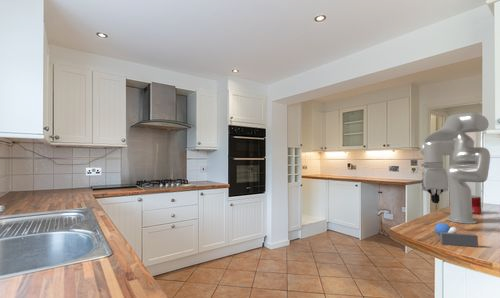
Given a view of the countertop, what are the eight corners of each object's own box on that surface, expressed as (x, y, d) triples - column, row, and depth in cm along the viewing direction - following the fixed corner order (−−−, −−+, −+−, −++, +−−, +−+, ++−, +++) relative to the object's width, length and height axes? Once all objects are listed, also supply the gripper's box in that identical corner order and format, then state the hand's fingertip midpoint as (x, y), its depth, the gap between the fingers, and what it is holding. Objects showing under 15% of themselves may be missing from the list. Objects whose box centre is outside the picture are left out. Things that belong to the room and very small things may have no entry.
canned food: (484, 214, 156) (483, 196, 156) (469, 214, 158) (468, 196, 158) (476, 212, 163) (475, 195, 164) (461, 211, 165) (461, 194, 165)
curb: (440, 242, 106) (439, 232, 106) (475, 245, 102) (474, 234, 103) (442, 244, 104) (441, 233, 104) (478, 247, 101) (477, 235, 101)
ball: (447, 240, 111) (443, 239, 116) (456, 229, 111) (452, 229, 116) (433, 230, 114) (430, 229, 119) (442, 220, 113) (439, 220, 119)
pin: (447, 232, 112) (451, 225, 106) (453, 236, 111) (458, 229, 105) (445, 237, 112) (448, 230, 106) (451, 240, 110) (455, 233, 104)
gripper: (418, 166, 125) (420, 203, 125) (455, 166, 121) (457, 204, 120) (414, 165, 132) (415, 201, 132) (448, 165, 128) (449, 202, 127)
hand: (435, 202), depth 126 cm, fingers closed
